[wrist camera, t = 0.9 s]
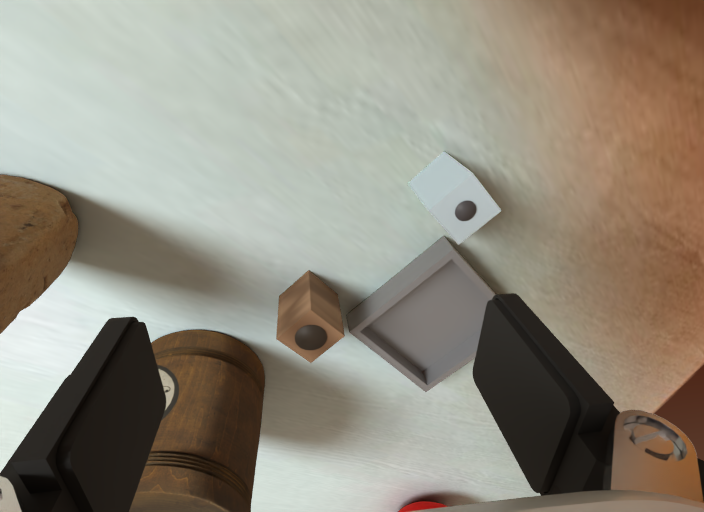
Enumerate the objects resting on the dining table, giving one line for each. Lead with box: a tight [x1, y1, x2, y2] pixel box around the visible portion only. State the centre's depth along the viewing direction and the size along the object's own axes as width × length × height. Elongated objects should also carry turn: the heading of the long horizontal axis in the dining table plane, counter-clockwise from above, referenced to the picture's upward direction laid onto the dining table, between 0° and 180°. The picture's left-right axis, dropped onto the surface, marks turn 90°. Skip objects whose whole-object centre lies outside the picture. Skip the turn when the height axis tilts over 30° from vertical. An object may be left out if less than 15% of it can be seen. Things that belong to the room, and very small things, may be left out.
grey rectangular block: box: [407, 151, 502, 245], centre depth 36 cm, size 4×4×7 cm
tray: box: [346, 236, 497, 392], centre depth 45 cm, size 14×14×3 cm
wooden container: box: [129, 330, 265, 512], centre depth 37 cm, size 15×15×22 cm
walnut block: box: [276, 270, 345, 363], centre depth 40 cm, size 4×4×7 cm
